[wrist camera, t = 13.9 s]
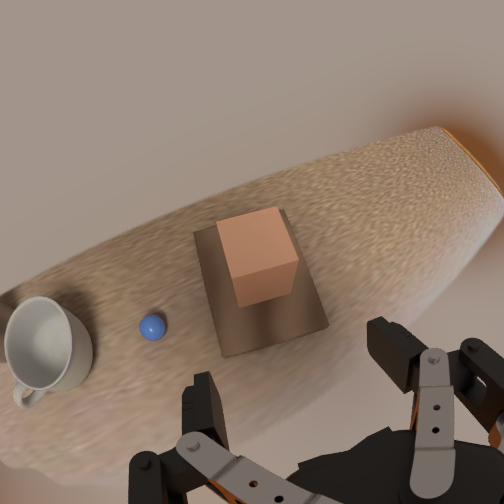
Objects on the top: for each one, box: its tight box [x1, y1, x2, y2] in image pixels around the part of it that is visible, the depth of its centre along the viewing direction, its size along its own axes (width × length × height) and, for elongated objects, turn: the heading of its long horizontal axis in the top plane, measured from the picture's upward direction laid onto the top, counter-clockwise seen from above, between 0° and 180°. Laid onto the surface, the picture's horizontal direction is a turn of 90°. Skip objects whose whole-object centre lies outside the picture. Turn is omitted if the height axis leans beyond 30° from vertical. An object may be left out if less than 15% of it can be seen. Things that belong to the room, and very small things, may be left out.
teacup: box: [4, 296, 93, 409], centre depth 27 cm, size 14×11×8 cm
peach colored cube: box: [216, 206, 299, 308], centre depth 31 cm, size 6×6×8 cm
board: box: [193, 209, 329, 358], centre depth 35 cm, size 12×16×1 cm
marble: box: [140, 315, 165, 341], centre depth 31 cm, size 3×3×3 cm
